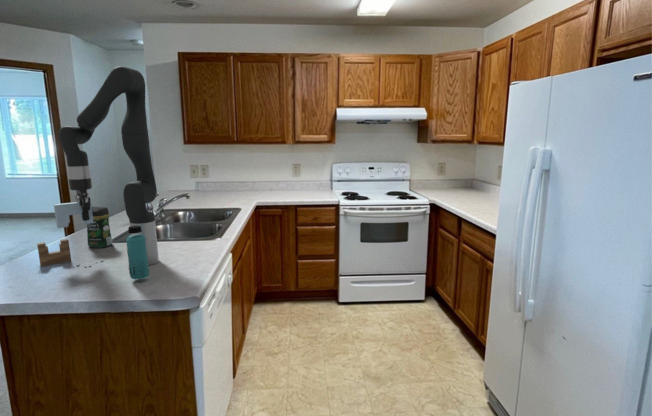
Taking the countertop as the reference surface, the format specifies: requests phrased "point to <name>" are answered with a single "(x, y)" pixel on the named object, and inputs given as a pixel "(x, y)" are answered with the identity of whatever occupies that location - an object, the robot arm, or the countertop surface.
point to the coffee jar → (99, 228)
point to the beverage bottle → (137, 253)
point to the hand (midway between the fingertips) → (85, 219)
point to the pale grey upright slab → (69, 213)
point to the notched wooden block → (54, 253)
